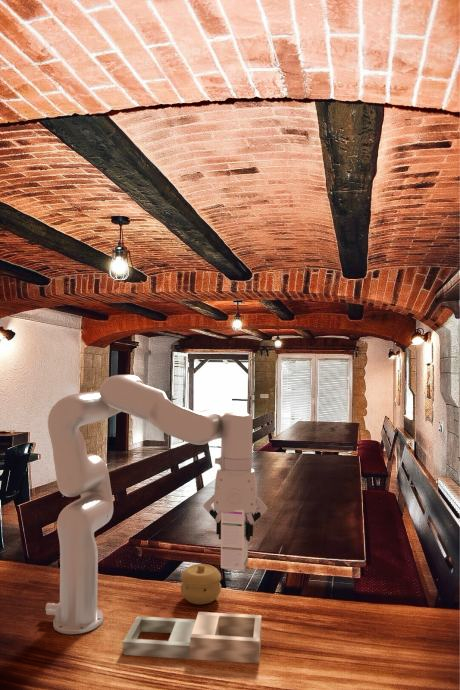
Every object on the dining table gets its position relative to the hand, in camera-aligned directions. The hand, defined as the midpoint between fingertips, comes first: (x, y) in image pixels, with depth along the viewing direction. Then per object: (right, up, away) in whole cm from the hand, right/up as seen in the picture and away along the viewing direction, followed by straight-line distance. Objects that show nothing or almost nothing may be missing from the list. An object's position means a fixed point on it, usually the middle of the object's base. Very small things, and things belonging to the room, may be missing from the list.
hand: (234, 537), depth 125 cm
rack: (-10, -26, 0) cm, 28 cm away
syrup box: (0, -7, 0) cm, 7 cm away
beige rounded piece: (-10, -27, +23) cm, 37 cm away
